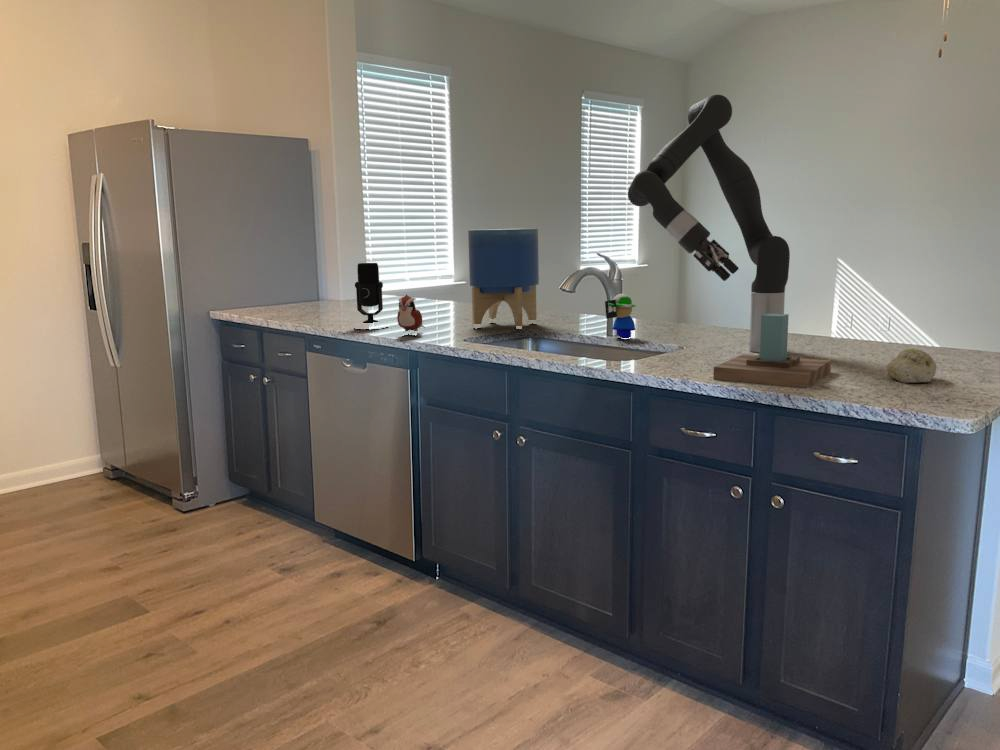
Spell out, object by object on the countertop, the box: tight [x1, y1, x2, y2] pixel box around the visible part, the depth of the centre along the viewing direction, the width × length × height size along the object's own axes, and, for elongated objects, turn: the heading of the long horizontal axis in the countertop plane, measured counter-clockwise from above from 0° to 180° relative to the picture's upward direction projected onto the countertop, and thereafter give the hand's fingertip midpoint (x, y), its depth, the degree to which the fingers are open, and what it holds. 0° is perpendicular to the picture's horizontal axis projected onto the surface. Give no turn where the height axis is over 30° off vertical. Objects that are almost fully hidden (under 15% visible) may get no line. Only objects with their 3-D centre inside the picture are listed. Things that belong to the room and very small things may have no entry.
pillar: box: [759, 313, 789, 362], centre depth 197 cm, size 5×5×12 cm
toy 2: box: [604, 293, 636, 338], centre depth 266 cm, size 9×9×15 cm
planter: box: [467, 227, 540, 327], centre depth 305 cm, size 26×26×37 cm
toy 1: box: [396, 294, 426, 332], centre depth 288 cm, size 9×16×15 cm, turn 166°
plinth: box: [712, 353, 832, 388], centre depth 198 cm, size 22×22×4 cm
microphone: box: [354, 262, 384, 323], centre depth 312 cm, size 14×14×25 cm
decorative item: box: [885, 348, 937, 384], centre depth 189 cm, size 12×9×10 cm
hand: (732, 274), depth 210 cm, fingers open, 8 cm apart
